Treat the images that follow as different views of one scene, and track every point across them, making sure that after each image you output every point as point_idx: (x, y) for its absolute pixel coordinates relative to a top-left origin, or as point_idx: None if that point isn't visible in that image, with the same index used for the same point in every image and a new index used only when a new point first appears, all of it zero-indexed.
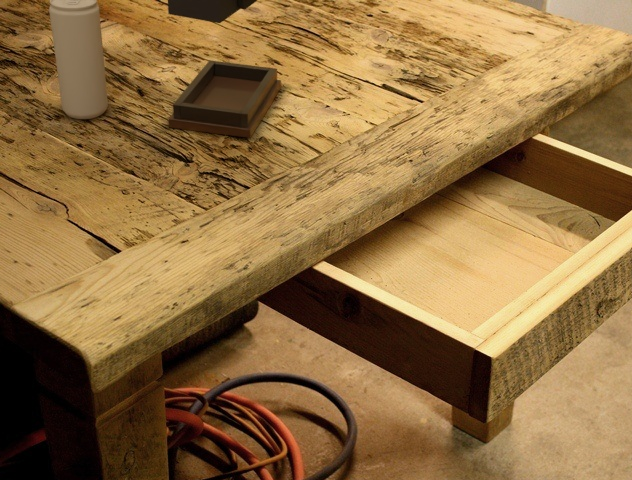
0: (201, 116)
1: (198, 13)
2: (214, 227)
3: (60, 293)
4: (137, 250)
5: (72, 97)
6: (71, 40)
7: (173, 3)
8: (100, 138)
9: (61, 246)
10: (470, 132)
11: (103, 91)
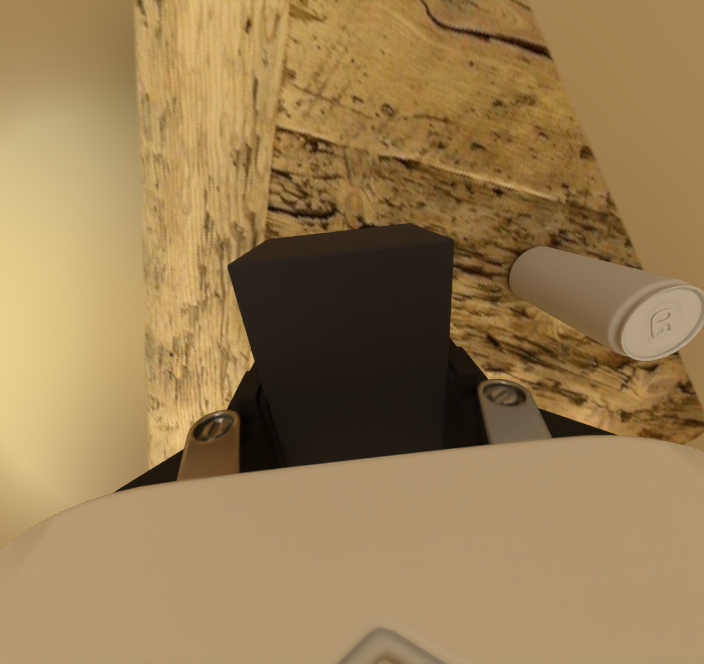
0: None
1: (324, 234)
2: (241, 88)
3: None
4: None
5: (552, 250)
6: (610, 272)
7: (400, 227)
8: (484, 222)
9: None
10: (166, 429)
11: (522, 285)
